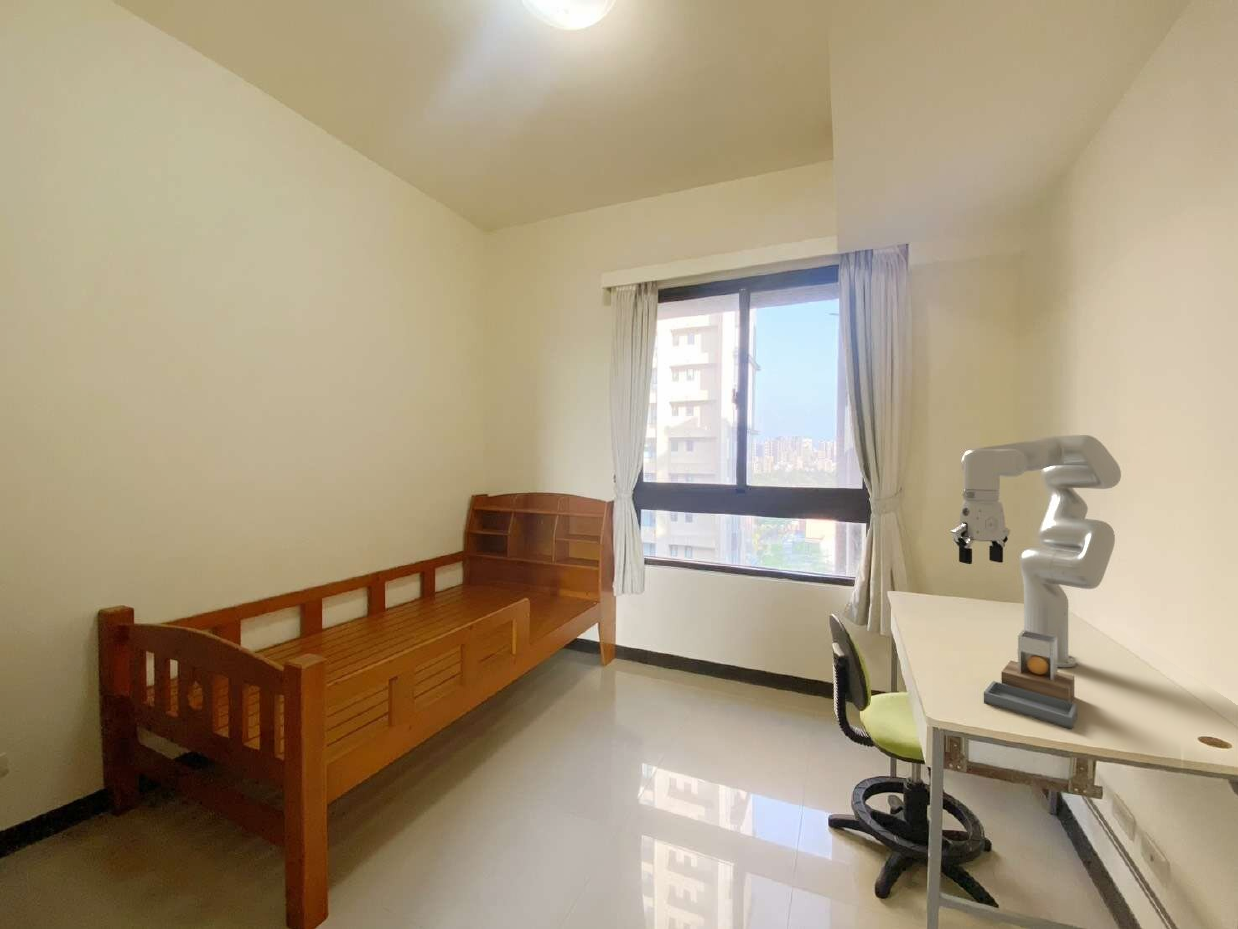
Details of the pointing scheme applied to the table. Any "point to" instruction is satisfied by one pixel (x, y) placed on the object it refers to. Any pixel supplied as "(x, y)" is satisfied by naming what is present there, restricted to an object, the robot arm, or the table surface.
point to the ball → (1037, 665)
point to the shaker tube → (1037, 650)
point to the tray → (1031, 704)
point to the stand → (1039, 682)
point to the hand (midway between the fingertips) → (980, 562)
